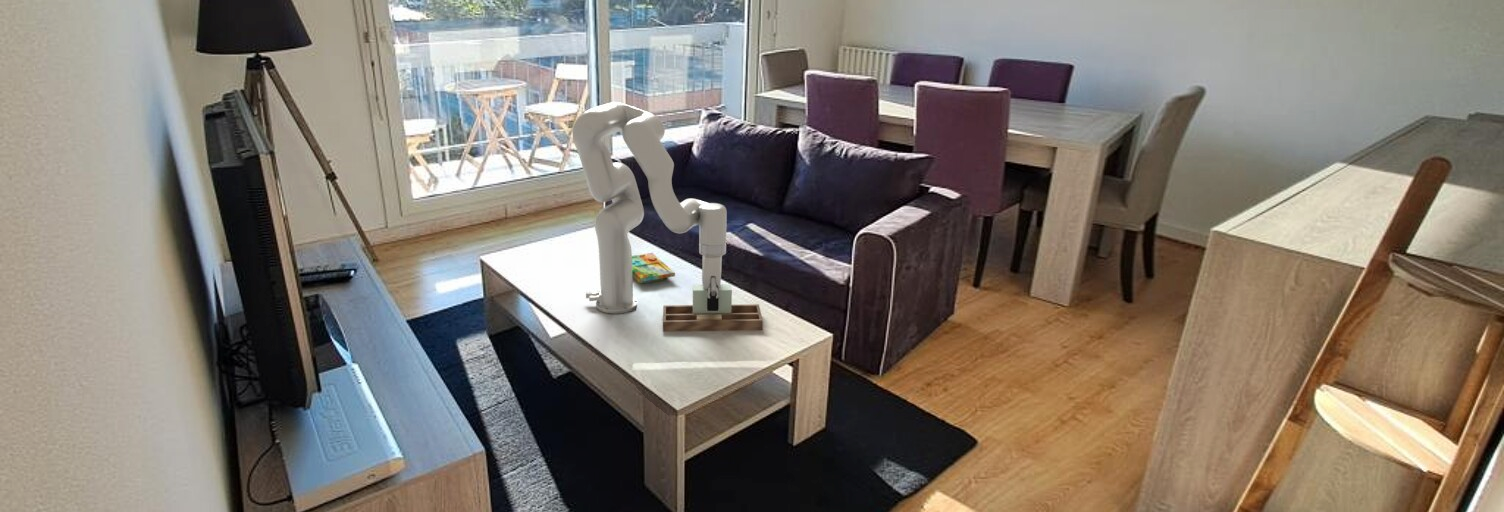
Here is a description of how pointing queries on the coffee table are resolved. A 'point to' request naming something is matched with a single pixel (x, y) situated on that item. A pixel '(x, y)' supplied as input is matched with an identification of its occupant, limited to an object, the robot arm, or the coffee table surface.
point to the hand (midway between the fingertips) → (711, 303)
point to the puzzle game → (649, 268)
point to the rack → (736, 320)
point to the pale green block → (701, 299)
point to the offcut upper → (709, 317)
